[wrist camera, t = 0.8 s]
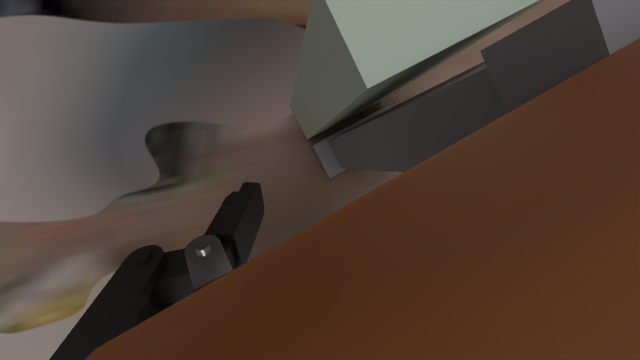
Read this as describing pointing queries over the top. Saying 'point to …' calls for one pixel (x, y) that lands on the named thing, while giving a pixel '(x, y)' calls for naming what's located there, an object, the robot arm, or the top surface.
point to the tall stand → (484, 88)
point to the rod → (452, 252)
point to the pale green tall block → (382, 50)
